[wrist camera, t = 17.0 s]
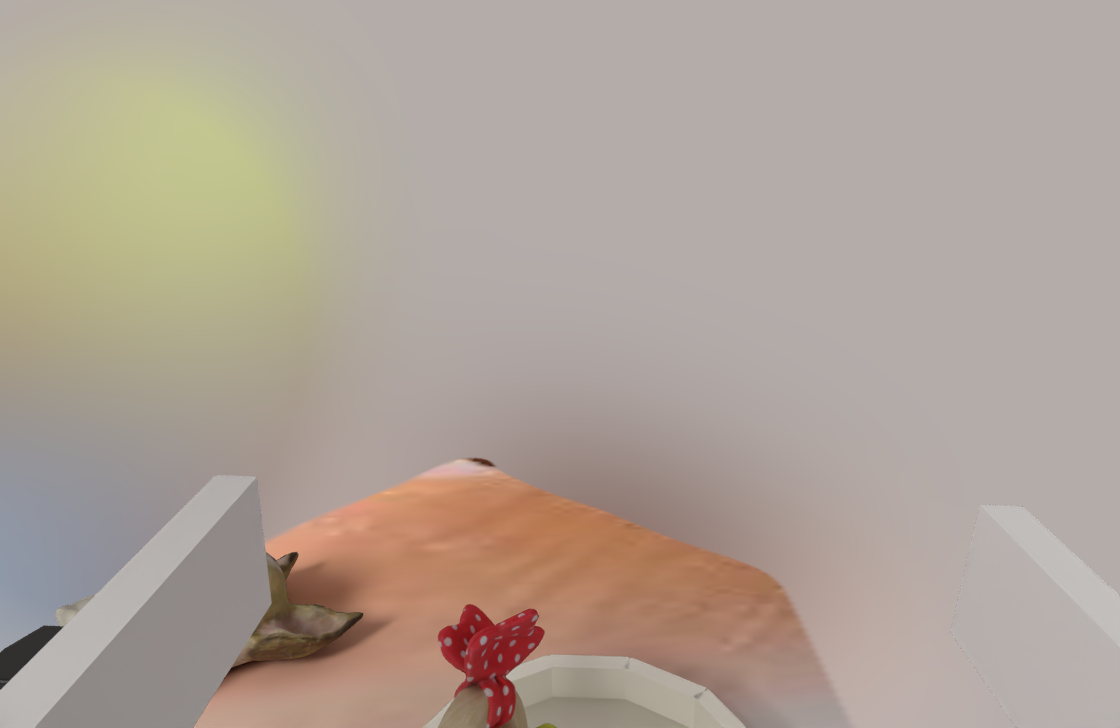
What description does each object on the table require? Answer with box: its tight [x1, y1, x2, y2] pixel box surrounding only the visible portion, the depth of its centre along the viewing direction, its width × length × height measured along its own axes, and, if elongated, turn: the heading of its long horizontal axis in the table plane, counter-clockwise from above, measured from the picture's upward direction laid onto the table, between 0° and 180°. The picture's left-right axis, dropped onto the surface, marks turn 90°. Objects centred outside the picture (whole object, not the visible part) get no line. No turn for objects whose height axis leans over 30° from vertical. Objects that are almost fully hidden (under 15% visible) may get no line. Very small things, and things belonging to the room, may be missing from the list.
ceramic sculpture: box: [56, 552, 363, 667], centre depth 45 cm, size 11×9×15 cm
